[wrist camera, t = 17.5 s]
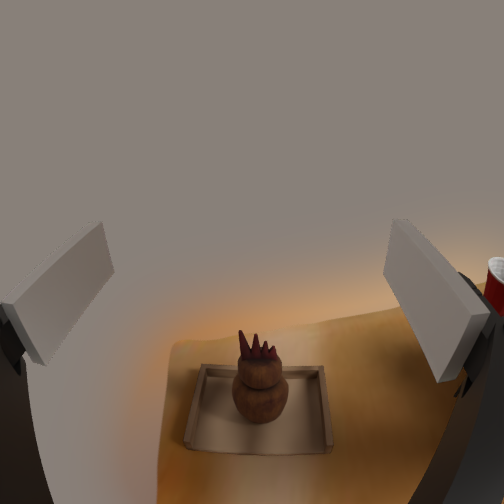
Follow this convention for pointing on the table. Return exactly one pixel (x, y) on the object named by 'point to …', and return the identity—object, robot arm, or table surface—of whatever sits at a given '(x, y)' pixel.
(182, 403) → the table surface
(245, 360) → the wooden figurine
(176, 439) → the table surface
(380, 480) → the table surface
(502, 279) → the plastic cup
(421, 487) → the robot arm
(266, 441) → the tray
